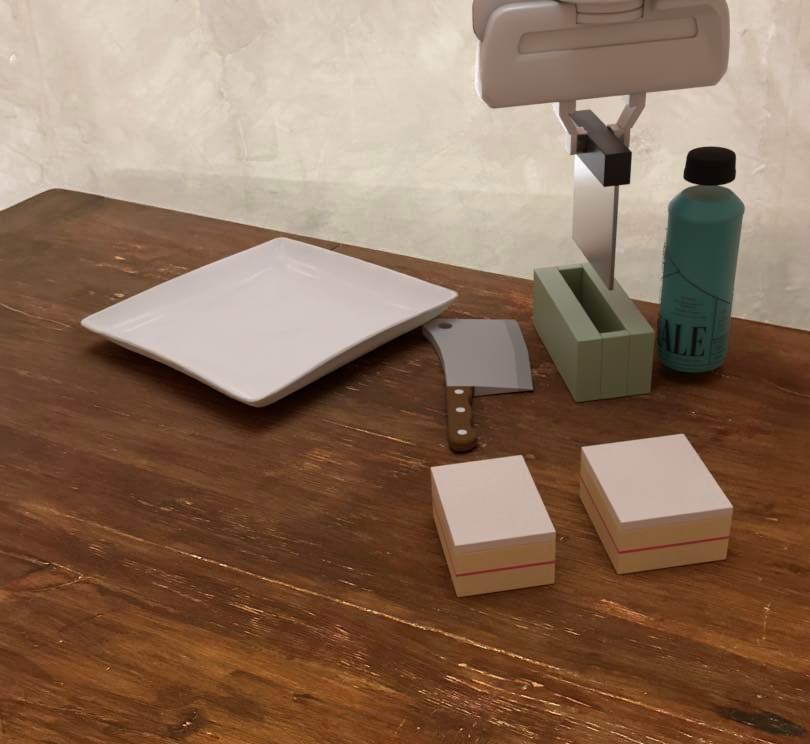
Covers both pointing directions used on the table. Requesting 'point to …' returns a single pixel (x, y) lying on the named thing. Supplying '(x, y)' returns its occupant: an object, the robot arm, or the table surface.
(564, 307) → the cutter stand
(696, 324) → the beverage bottle
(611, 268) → the cake cutter
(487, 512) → the cake slice
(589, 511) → the cake
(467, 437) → the kitchen cleaver
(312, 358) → the square plate
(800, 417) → the table surface
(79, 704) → the table surface
